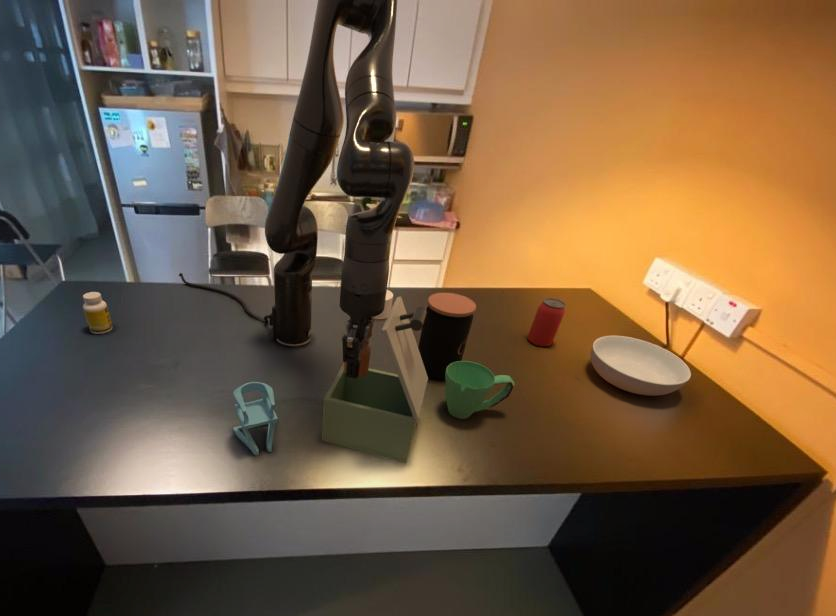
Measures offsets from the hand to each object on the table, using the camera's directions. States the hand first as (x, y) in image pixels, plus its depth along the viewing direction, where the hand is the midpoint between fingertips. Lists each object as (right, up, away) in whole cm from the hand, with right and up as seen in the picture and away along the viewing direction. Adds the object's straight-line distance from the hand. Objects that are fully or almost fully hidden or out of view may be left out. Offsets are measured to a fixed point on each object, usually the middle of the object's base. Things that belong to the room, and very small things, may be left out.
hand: (355, 368), depth 79 cm
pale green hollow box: (+3, -12, +7) cm, 15 cm away
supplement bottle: (-65, +11, +33) cm, 74 cm away
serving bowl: (+69, -2, +27) cm, 74 cm away
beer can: (+53, +9, +41) cm, 68 cm away
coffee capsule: (0, 0, 0) cm, 0 cm away
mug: (+26, -9, +14) cm, 30 cm away
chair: (-19, -14, +4) cm, 24 cm away
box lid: (+8, +2, -5) cm, 10 cm away
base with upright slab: (+8, +19, +50) cm, 54 cm away
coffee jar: (+21, +1, +27) cm, 34 cm away
